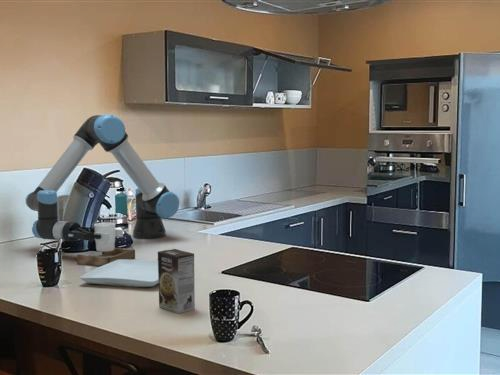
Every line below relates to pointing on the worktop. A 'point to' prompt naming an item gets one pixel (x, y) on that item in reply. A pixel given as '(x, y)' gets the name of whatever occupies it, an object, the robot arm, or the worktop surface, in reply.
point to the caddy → (106, 257)
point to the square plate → (125, 273)
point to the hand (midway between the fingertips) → (115, 235)
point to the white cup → (102, 244)
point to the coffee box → (176, 280)
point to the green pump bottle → (121, 202)
